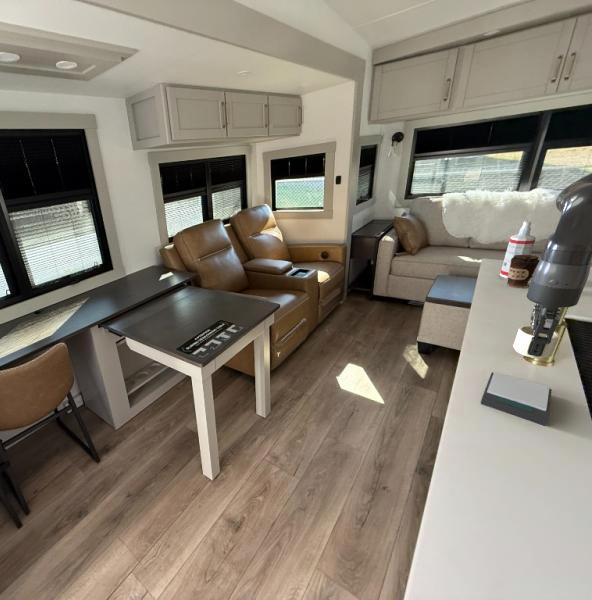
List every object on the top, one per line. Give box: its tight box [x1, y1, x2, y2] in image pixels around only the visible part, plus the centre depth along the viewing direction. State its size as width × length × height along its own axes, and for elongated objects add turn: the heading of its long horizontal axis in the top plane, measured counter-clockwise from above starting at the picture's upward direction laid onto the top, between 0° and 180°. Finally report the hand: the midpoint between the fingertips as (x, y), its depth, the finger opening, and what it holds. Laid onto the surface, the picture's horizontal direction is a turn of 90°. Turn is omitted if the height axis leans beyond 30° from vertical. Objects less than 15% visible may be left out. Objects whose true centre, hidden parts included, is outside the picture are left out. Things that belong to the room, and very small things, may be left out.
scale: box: [480, 371, 553, 426], centre depth 78 cm, size 13×11×3 cm
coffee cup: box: [506, 254, 540, 289], centre depth 133 cm, size 9×8×13 cm
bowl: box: [512, 324, 560, 360], centre depth 73 cm, size 6×6×6 cm
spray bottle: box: [499, 220, 537, 279], centre depth 140 cm, size 8×8×25 cm
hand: (533, 347), depth 73 cm, fingers closed on bowl, 6 cm apart
